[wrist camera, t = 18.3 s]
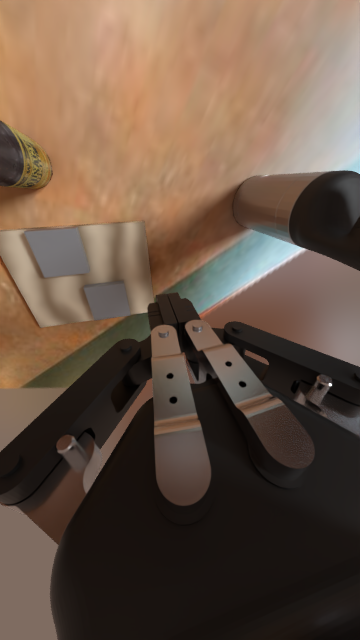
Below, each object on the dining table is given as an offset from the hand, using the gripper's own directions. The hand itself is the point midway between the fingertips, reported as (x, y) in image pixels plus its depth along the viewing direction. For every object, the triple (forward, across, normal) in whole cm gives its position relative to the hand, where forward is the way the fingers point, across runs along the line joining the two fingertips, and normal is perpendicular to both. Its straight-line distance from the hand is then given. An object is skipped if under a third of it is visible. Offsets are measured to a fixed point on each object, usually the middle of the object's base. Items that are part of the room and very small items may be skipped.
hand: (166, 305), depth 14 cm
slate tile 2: (+28, +5, +14) cm, 32 cm away
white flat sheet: (+31, +12, +9) cm, 34 cm away
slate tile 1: (+28, +11, +3) cm, 31 cm away
